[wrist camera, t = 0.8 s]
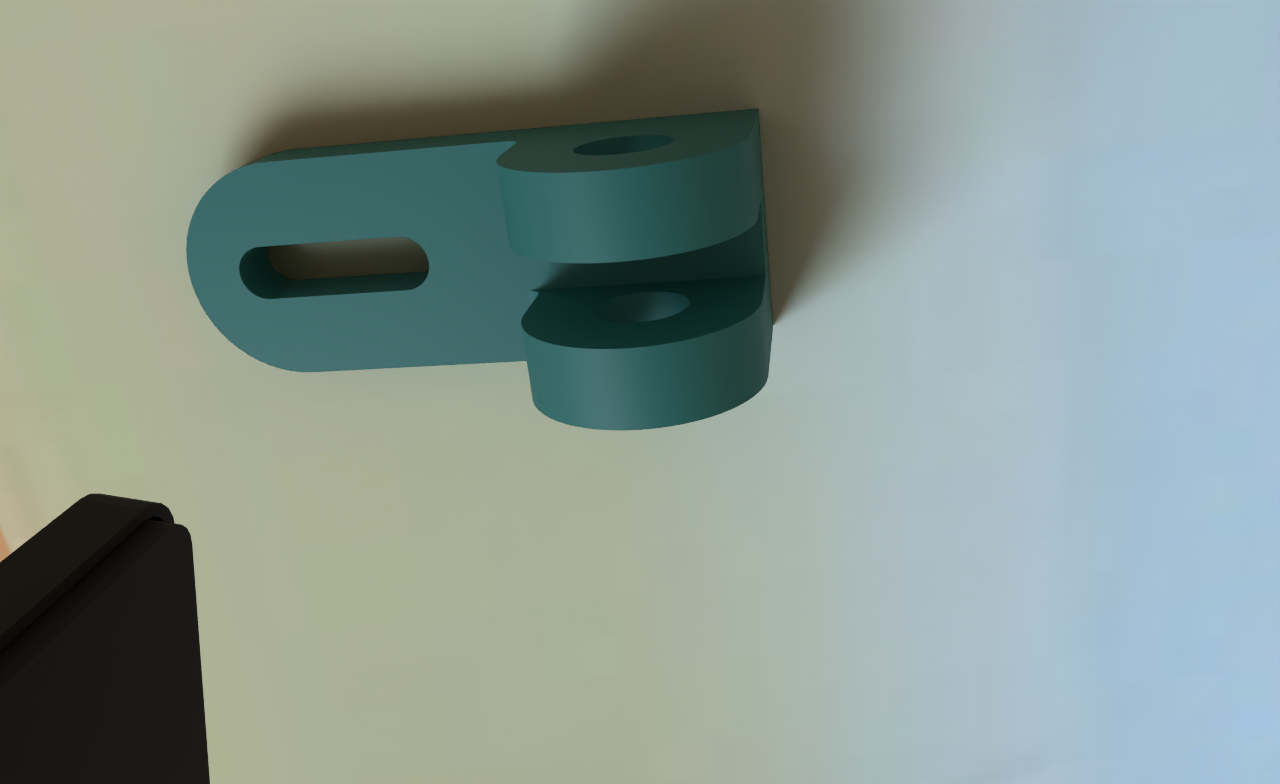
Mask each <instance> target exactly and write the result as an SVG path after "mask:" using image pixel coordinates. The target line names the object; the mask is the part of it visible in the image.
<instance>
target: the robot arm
mask: <svg viewBox="0 0 1280 784" xmlns="http://www.w3.org/2000/svg"><path fill="white" fill-rule="evenodd" d="M0 784H210V779H209V766H208V752H207V739H206V725H205V712H204V698H203V685H202V671H201V658H200V644H199V631H198V617H197V604H196V590H195V576H194V563H193V549H192V541H191V535H190V533H189V531H188V529H187V528H186V527H184V526H183V525H180V524H174V519H173V516H172V514H171V512H170V510H169V508H168V507H166V506H165V505H163V504H162V503H156V502H149V501H143V500H137V499H130V498H124V497H117V496H111V495H105V494H89V495H87V496H85V497H83V498H81V499H80V500H79V501H77V502H76V503H75V504H73V505H72V506H71V507H70V508H68V509H67V510H66V511H65V512H63V513H62V514H61V515H60V516H58V517H57V518H56V519H54V520H53V521H52V522H51V523H49V524H48V525H47V526H46V527H44V528H43V529H42V530H41V531H39V532H38V533H37V534H35V535H34V536H33V537H32V538H30V539H29V540H28V541H27V542H25V543H24V544H23V545H22V546H20V547H19V548H18V549H17V550H15V551H14V552H13V553H11V554H10V555H9V556H8V557H6V558H5V559H4V560H3V561H1V562H0Z"/></svg>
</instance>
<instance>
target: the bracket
mask: <svg viewBox="0 0 1280 784" xmlns="http://www.w3.org/2000/svg"><path fill="white" fill-rule="evenodd" d="M387 237H405V238H409V239H411V240H413V241H415V242H416V243H417V244H419V245H420V246H421V247H422V249H423V250H424V251H425V253H426V255H427V258H428V261H429V271H425V272H410V273H395V274H380V275H365V276H350V277H335V278H320V279H306V280H292V279H288V278H285V277H284V276H282V275H280V274H279V273H278V272H277V271H276V270H275V269H274V268H273V266H272V264H271V262H270V260H269V257H268V246H278V245H291V244H305V243H319V242H332V241H346V240H360V239H374V238H387ZM186 250H187V264H188V270H189V275H190V278H191V282H192V285H193V288H194V291H195V293H196V296H197V298H198V300H199V302H200V304H201V306H202V307H203V309H204V311H205V312H206V314H207V316H208V317H209V318H210V320H211V321H212V322H213V324H214V325H215V326H216V327H217V328H218V330H219V331H220V332H221V333H222V334H223V335H224V336H225V337H226V338H227V339H228V340H229V341H230V342H232V343H233V344H234V345H235V346H237V347H238V348H239V349H241V350H242V351H244V352H245V353H247V354H248V355H250V356H252V357H253V358H255V359H257V360H259V361H261V362H264V363H266V364H268V365H271V366H274V367H277V368H281V369H285V370H290V371H298V372H323V371H342V370H361V369H380V368H400V367H419V366H438V365H457V364H476V363H495V362H514V361H527V365H528V371H529V378H530V384H531V391H532V397H533V402H534V404H535V406H536V407H537V409H538V410H539V411H540V412H542V413H543V414H544V415H546V416H548V417H549V418H551V419H554V420H556V421H559V422H562V423H565V424H569V425H573V426H577V427H583V428H590V429H600V430H642V429H653V428H661V427H669V426H674V425H680V424H685V423H689V422H694V421H698V420H702V419H705V418H709V417H712V416H715V415H718V414H721V413H723V412H726V411H728V410H731V409H733V408H735V407H737V406H739V405H741V404H743V403H744V402H746V401H748V400H749V399H751V398H752V397H753V396H755V395H756V394H757V393H758V392H759V391H760V390H761V389H762V388H763V387H764V385H765V383H766V382H767V378H768V372H769V362H770V351H771V341H772V331H773V319H772V304H771V289H770V274H769V259H768V244H767V229H766V214H765V199H764V184H763V169H762V154H761V140H760V125H759V110H758V109H748V110H737V111H725V112H714V113H702V114H691V115H680V116H668V117H657V118H646V119H634V120H623V121H611V122H600V123H589V124H577V125H566V126H554V127H543V128H532V129H520V130H509V131H497V132H486V133H475V134H463V135H452V136H440V137H429V138H418V139H406V140H395V141H383V142H372V143H361V144H349V145H338V146H326V147H315V148H304V149H293V150H286V151H281V152H278V153H274V154H271V155H269V156H266V157H264V158H262V159H259V160H257V161H255V162H252V163H250V164H248V165H246V166H243V167H241V168H239V169H236V170H234V171H232V172H231V173H229V174H227V175H225V176H224V177H222V178H221V179H220V180H218V181H217V182H216V183H215V184H214V185H213V186H212V187H211V188H210V189H209V190H208V191H207V192H206V193H205V195H204V196H203V197H202V199H201V200H200V202H199V204H198V205H197V207H196V209H195V212H194V214H193V216H192V219H191V222H190V226H189V230H188V236H187V249H186Z"/></svg>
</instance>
